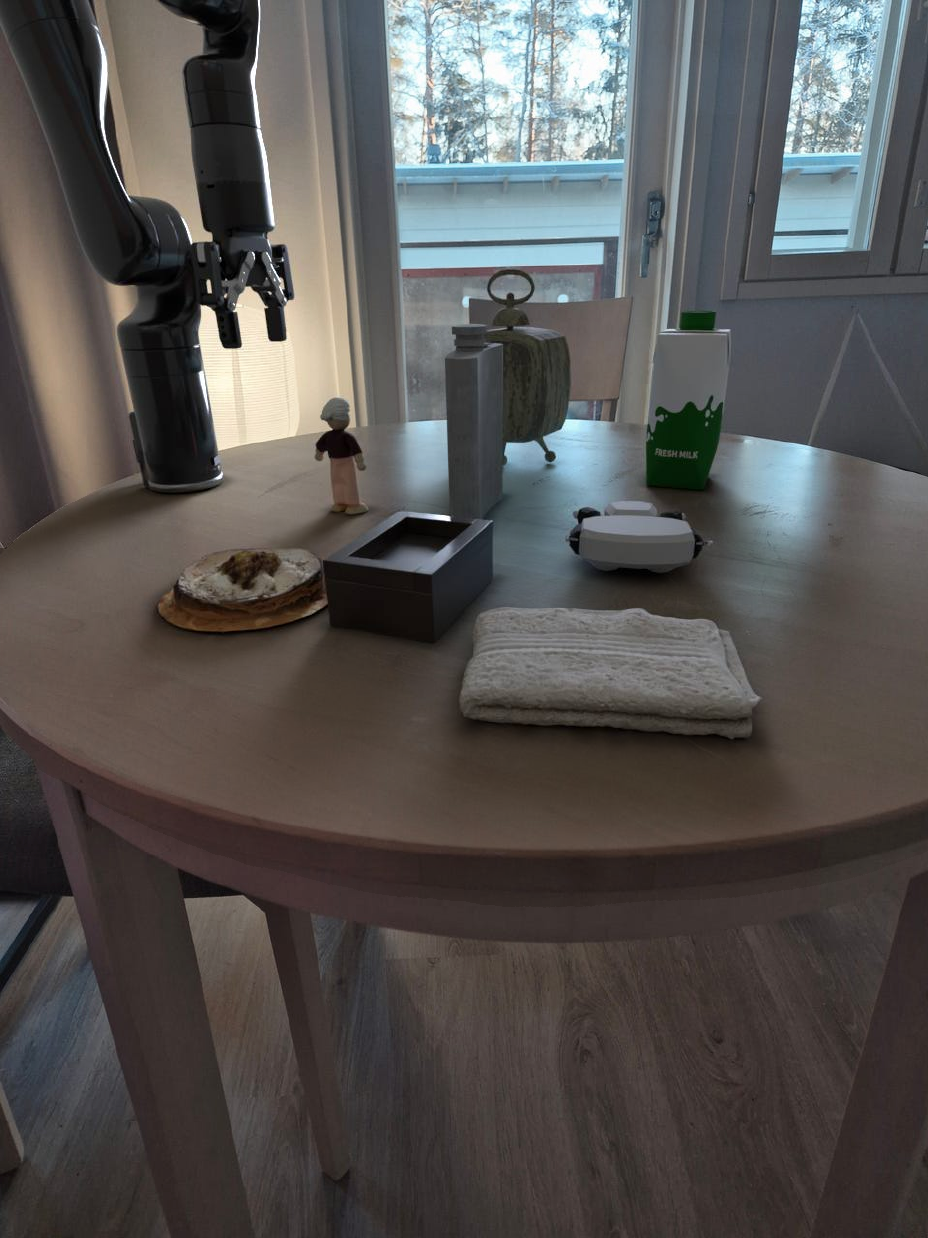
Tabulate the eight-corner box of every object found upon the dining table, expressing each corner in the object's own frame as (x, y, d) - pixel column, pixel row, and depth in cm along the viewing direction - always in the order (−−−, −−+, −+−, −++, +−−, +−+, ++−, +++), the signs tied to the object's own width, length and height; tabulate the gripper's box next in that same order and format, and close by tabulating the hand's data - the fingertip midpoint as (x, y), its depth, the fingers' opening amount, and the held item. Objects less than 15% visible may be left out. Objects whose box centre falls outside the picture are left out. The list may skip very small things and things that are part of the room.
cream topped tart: (210, 560, 69) (203, 519, 68) (359, 566, 67) (356, 524, 65) (123, 628, 56) (111, 579, 54) (305, 638, 54) (299, 587, 52)
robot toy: (567, 537, 76) (563, 582, 62) (569, 495, 74) (565, 531, 61) (686, 541, 74) (709, 588, 60) (691, 497, 72) (715, 536, 59)
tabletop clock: (567, 461, 103) (575, 267, 92) (538, 476, 96) (543, 268, 85) (481, 451, 110) (479, 269, 99) (448, 463, 103) (442, 270, 92)
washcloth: (765, 745, 41) (774, 699, 40) (454, 729, 43) (453, 685, 42) (722, 647, 52) (728, 608, 50) (474, 638, 54) (474, 601, 52)
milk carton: (716, 475, 94) (738, 310, 86) (710, 493, 87) (734, 314, 78) (648, 470, 97) (663, 310, 89) (637, 487, 90) (652, 314, 81)
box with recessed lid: (329, 625, 56) (322, 560, 54) (402, 567, 67) (399, 510, 65) (434, 643, 53) (431, 574, 51) (493, 579, 64) (493, 520, 61)
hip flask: (476, 537, 74) (473, 329, 65) (438, 535, 75) (430, 329, 66) (504, 495, 88) (505, 318, 79) (472, 493, 89) (469, 319, 80)
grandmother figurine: (382, 507, 84) (374, 396, 78) (365, 517, 81) (355, 401, 75) (328, 501, 87) (316, 393, 81) (309, 510, 84) (296, 398, 78)
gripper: (245, 189, 83) (266, 339, 90) (156, 176, 71) (187, 350, 78) (300, 185, 80) (317, 339, 87) (217, 171, 68) (243, 351, 75)
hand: (256, 344), depth 83 cm, fingers open, 8 cm apart
